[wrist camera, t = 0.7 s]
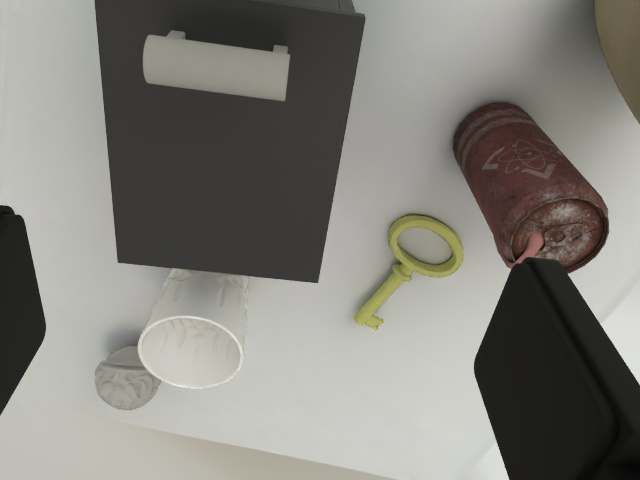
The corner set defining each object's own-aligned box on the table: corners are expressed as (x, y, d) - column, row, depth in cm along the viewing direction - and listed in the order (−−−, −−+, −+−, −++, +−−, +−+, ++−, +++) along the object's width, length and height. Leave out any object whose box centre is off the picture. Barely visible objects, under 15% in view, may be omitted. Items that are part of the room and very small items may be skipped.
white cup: (236, 227, 46) (220, 305, 38) (266, 295, 50) (257, 378, 42) (151, 249, 47) (118, 329, 39) (188, 313, 51) (165, 397, 43)
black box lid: (97, -26, 25) (49, -3, 21) (364, 13, 27) (375, 44, 22) (121, 255, 35) (91, 314, 30) (317, 275, 36) (318, 335, 31)
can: (433, 149, 42) (478, 254, 31) (492, 83, 39) (567, 172, 28) (487, 188, 44) (550, 301, 33) (547, 129, 41) (639, 229, 30)
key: (349, 312, 52) (351, 327, 50) (398, 206, 45) (401, 220, 43) (418, 327, 53) (422, 343, 51) (475, 227, 46) (482, 241, 45)
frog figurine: (169, 329, 53) (151, 385, 47) (168, 377, 57) (152, 434, 51) (105, 322, 52) (79, 378, 46) (109, 371, 56) (85, 428, 50)
